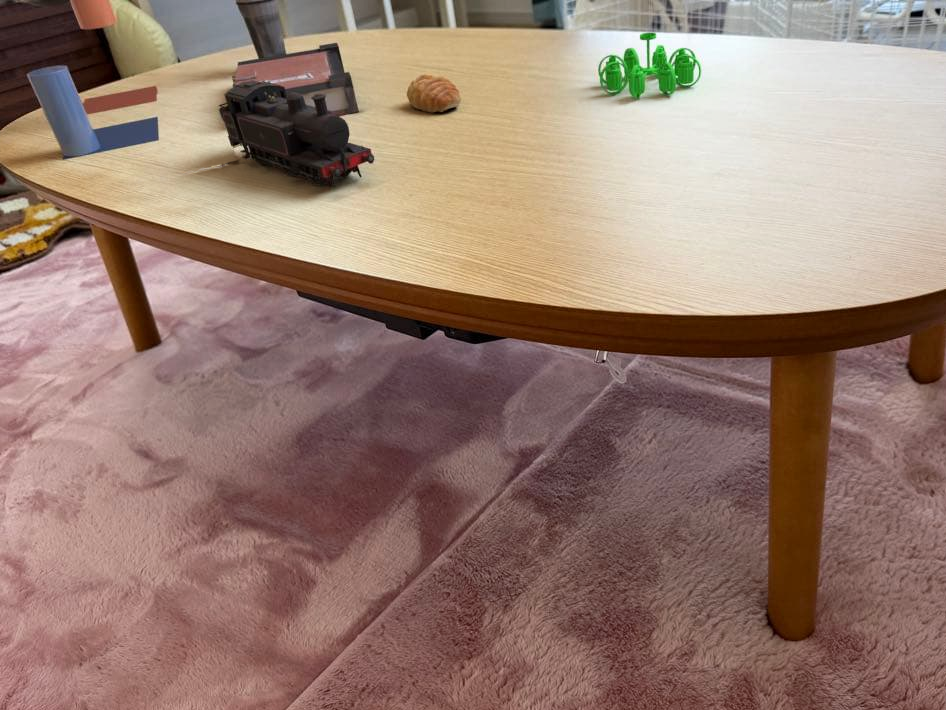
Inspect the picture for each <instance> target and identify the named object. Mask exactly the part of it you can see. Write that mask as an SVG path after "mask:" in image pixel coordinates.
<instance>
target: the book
mask: <svg viewBox="0 0 946 710" xmlns="http://www.w3.org/2000/svg"><path fill="white" fill-rule="evenodd" d="M342 59H343V58H342V55H341V51H340V46H339V44H338V42H332V43H326V44H319V45H318V48H314V49H309V50H303V51H296V52H291V53H286V54H284V55H278V56H272V57H266V58H260V59H259V58H255V59H249V60H243V61H238V62H237V67H236V73H235V74H234V75H231V80H232V88H233V87H234V86H235V85H238V84H240V83H242V82H247V81H258V82H262V81H264V82H268V83H272V84H276V85H281V86H282V87H285V91H286V95H287V97H288V96H289V94H290V93H293V92H297V93H299V94H301V95H303V97H304V100H305V103H306V105H309V106H313V107H315V104H314V100H312V99H311V97H313V96H314V95H316V94H324V95H326V97H325V101H326V105H327V110H329V111H331V114H333V115H337V116H339V117H340V116H344V115H350V114H356V113H359V112H360V111H359V106H358V101H357V97H356V93H355V87H354V83H353V80H352V76H351V73H350V71H345V69H344V64H343V60H342ZM273 95H274V97H275V96H277V94H276V92H273ZM235 102H238V101H235Z"/></svg>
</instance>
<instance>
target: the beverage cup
mask: <svg viewBox="0 0 946 710" xmlns="http://www.w3.org/2000/svg"><path fill="white" fill-rule="evenodd" d="M235 5H237V8H238V11H239V13H240V15H241V17H242V19H243V21H244V23H245V26H246V28H247V32H248V35H249V36H250V39H251V42H252V45H253V47H254V50H255V53H256V55H257V59H260V58H266V57H272V56H278V55H284V54H287V51H286V50H287V49H286V45H285V41H284V40H285V38H284V35H283V29H282V24H281V19H280V13H279V11H280V10H279V1H278V0H235Z"/></svg>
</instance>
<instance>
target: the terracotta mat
mask: <svg viewBox="0 0 946 710" xmlns="http://www.w3.org/2000/svg"><path fill="white" fill-rule="evenodd" d="M157 95H158V87H157V85H152V86H147V87H142V88H136V89H131V90H126V91H119V92H116V93H115V92H114V93H109V94H104V95H100V96H94V97H89V98H84V100H83V101H84V102H83V106H84V108H85V111H86V113H87V115H91V114H92V115H93V114H97V113H102V112H108V111H113V110H118V109H123V108H128V107H133V106H138V105H143V104H149V103H155V102H157V101H158V96H157Z"/></svg>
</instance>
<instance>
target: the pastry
mask: <svg viewBox="0 0 946 710" xmlns="http://www.w3.org/2000/svg"><path fill="white" fill-rule="evenodd" d="M406 98H407V100H408V102H409V104H410V105H411V106H413V107H414V108H415V109H417V110H421V111H424V112H427V113H432V114H433V113H436V112H440V113H443V112H444V111H447V110H449V109H451V108H456V107H457V108H458V107H459V106H460V104H461V102H462V97H461V95H460V91H459V89H458V88H457V86H456V85H455V84H454V83H452V81H451V80H450V79H449V78H445V77H444V76H435V75H432V74H427V73H426V74H421V75H419V76H417V77H416V78H415V79H413V80H411V83H410V84H409V85H408V87H407V91H406Z"/></svg>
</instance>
